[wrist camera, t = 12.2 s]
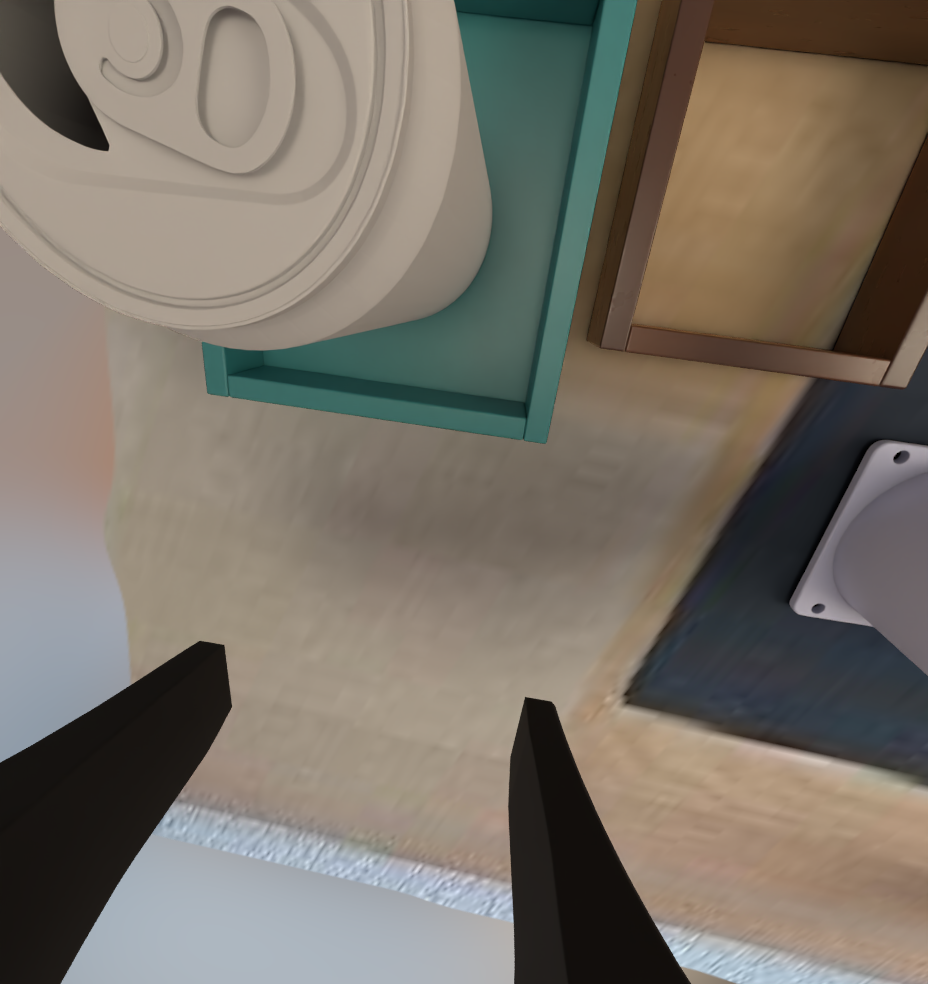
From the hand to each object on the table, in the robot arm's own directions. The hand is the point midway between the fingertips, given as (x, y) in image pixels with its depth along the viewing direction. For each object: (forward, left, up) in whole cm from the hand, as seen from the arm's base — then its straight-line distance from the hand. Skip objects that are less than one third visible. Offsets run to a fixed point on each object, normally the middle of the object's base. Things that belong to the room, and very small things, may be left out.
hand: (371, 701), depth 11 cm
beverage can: (+2, -11, -10) cm, 15 cm away
